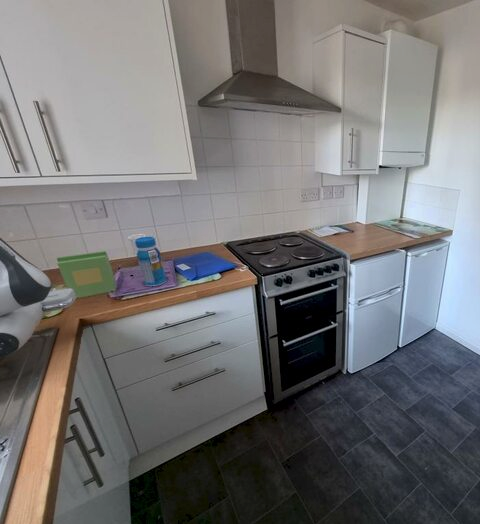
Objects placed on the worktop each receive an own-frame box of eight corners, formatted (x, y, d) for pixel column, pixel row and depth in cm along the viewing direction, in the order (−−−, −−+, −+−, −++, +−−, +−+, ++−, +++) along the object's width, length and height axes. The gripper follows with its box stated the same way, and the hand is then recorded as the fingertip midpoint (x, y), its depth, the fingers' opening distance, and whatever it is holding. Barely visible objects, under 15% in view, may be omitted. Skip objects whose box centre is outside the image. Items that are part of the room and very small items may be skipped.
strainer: (144, 265, 147) (136, 236, 141) (131, 264, 148) (123, 235, 142) (155, 260, 153) (148, 232, 148) (143, 259, 154) (135, 231, 149)
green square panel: (70, 299, 115) (55, 260, 109) (73, 294, 119) (58, 255, 113) (116, 291, 122) (104, 253, 116) (117, 286, 126) (106, 249, 120)
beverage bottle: (142, 288, 124) (129, 242, 117) (147, 280, 132) (135, 236, 124) (165, 285, 127) (153, 240, 119) (169, 277, 134) (158, 235, 127)
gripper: (67, 294, 85) (76, 277, 96) (-41, 314, 75) (-16, 291, 86) (74, 314, 87) (82, 294, 98) (-29, 335, 77) (-7, 311, 88)
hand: (36, 293), depth 92 cm, fingers closed on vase, 7 cm apart
